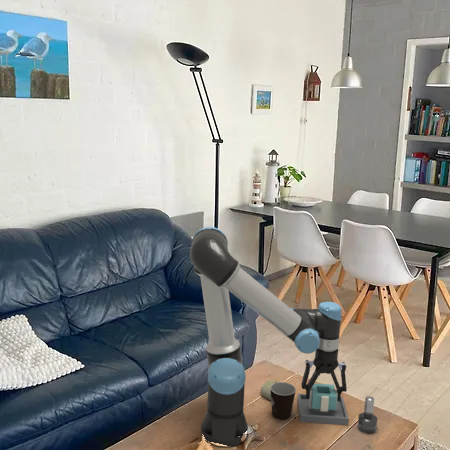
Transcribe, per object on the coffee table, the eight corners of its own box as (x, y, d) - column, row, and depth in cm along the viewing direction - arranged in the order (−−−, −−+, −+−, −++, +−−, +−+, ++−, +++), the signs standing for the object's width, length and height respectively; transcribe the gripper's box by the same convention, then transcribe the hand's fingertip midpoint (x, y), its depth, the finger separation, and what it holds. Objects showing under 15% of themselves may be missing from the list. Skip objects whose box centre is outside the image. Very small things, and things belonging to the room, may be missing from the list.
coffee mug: (292, 423, 177) (294, 396, 175) (267, 420, 179) (268, 393, 177) (295, 405, 188) (297, 379, 186) (271, 401, 190) (272, 376, 188)
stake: (359, 433, 174) (362, 402, 171) (356, 422, 179) (359, 393, 177) (377, 434, 173) (381, 404, 171) (374, 423, 179) (377, 394, 177)
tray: (300, 421, 179) (300, 415, 178) (297, 399, 192) (297, 393, 192) (348, 425, 178) (348, 418, 177) (342, 402, 191) (342, 396, 191)
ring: (309, 395, 188) (310, 383, 187) (332, 397, 188) (333, 384, 187) (312, 410, 179) (313, 397, 178) (336, 412, 179) (337, 398, 178)
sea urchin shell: (286, 384, 199) (286, 377, 192) (284, 405, 195) (285, 400, 188) (262, 381, 200) (261, 375, 193) (260, 402, 196) (259, 397, 189)
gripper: (297, 350, 176) (292, 411, 181) (360, 354, 175) (354, 415, 180) (295, 340, 184) (291, 399, 189) (356, 344, 182) (350, 403, 188)
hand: (322, 407), depth 184 cm, fingers closed on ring, 8 cm apart
